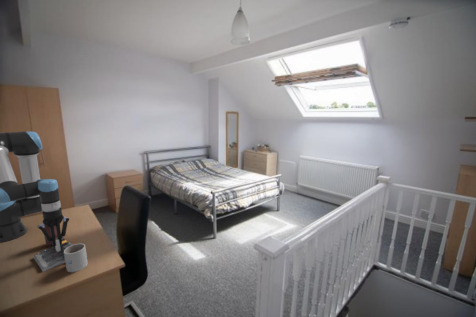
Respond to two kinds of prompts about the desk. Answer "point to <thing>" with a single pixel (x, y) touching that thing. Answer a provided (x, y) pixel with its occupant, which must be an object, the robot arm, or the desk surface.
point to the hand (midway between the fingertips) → (58, 250)
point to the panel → (49, 258)
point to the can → (49, 243)
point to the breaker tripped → (63, 244)
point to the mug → (75, 257)
